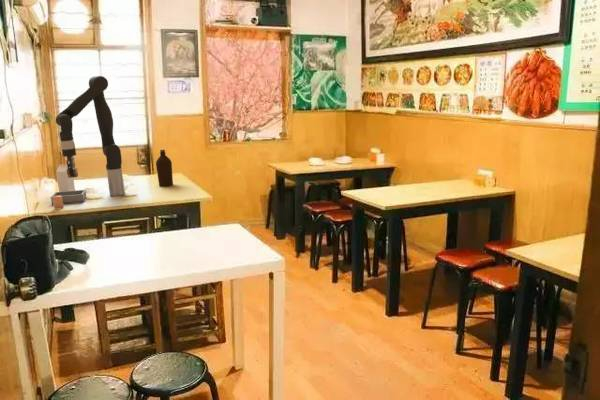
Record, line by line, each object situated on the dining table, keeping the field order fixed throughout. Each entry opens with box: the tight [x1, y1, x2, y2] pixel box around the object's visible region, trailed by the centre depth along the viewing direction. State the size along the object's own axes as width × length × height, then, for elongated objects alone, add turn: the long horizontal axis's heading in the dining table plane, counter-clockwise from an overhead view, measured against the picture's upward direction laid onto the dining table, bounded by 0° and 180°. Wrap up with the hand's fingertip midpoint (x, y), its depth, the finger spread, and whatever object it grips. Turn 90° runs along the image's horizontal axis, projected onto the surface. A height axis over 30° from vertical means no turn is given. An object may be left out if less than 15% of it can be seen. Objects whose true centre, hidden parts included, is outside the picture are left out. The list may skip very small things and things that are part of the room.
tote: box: [50, 189, 87, 205], centre depth 308 cm, size 18×14×5 cm
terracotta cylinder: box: [53, 195, 64, 209], centre depth 292 cm, size 5×5×7 cm
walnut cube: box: [67, 167, 79, 179], centre depth 299 cm, size 5×5×5 cm
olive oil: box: [155, 149, 174, 188], centre depth 341 cm, size 11×11×25 cm
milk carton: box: [55, 164, 76, 192], centre depth 332 cm, size 7×7×19 cm
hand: (73, 175), depth 300 cm, fingers closed on walnut cube, 5 cm apart
